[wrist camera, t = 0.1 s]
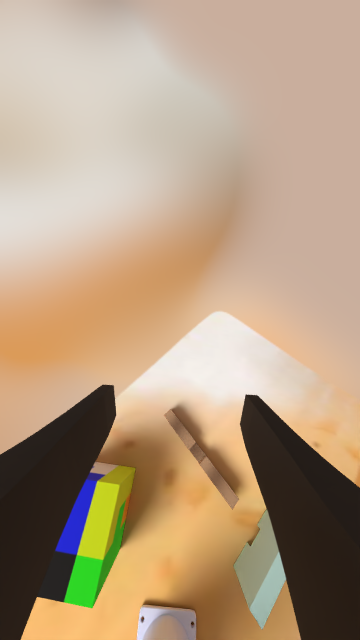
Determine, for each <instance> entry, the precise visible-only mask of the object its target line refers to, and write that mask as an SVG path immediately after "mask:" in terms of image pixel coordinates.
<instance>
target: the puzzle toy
mask: <svg viewBox="0 0 360 640" xmlns="http://www.w3.org/2000/svg"><path fill="white" fill-rule="evenodd" d="M135 469H136V468H133V467H126V466H120V465H113V464H107V463H100V462H95V463H94V465H93V467H92V469H91V471H90V473H89V475H88V477H87V479H86V481H85V483H84V485H83V487H82V489H81V491H80V493H79V495H78V498H77V500H76V502H75V504H74V507H73V509H72V511H71V514H70V516H69V518H68V521H67V523H66V526H65V528H64V530H63V533H62V535H61V537H60V540H59V542H58V545H57V547H56V550H55V552H54V555H53V557H52V560H51V562H50V565H49V567H48V570H47V572H46V575H45V577H44V580H43V582H42V585H41V587H40V590H39V593H38V595H37V597H41V598H46V599H50V600H55V601H60V602H65V603H70V604H74V605H79V606H84V607H89V608H93V606H94V604H95V602H96V599H97V597H98V595H99V593H100V591H101V589H102V587H103V584H104V582H105V580H106V578H107V576H108V574H109V572H110V569H111V567H112V565H113V563H114V561H115V559H116V557H117V554H118V552H119V550H120V547H121V542H122V536H123V531H124V526H125V521H126V516H127V510H128V505H129V500H130V495H131V490H132V485H133V479H134V474H135Z"/></svg>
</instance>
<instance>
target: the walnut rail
mask: <svg viewBox="0 0 360 640" xmlns="http://www.w3.org/2000/svg"><path fill="white" fill-rule="evenodd" d="M164 416H165V418H166V419H167V420H168V422H169V423H170V424H171V426H172V427H173V429H174V430H175V431H176V433H177V434H178V435H179V437H180V438H181V440H182V441H183V442H184V444H185V445H186V446H187V448H188V449H189V450H190V451H191V453H192V454H193V456H194V457H195V458H196V460H197V461H198V462H199V464H200V466H201V467H202V468H203V470H204V471H205V473H206V474H207V475H208V477H209V478H210V479H211V481H212V482H213V484H214V485H215V486H216V488H217V489H218V490H219V492H220V493H221V495H222V496H223V497H224V499H225V500H226V501H227V503H228V504H229V506H230V507H231V508H232V509H233V508H234V506H235V505H236V503H237V502H238V500H239V498H238V497H237V496H236V494H235V493H234V492H233V490H232V489H231V488H230V486H229V485H228V484H227V482H226V481H225V480H224V479H223V477H222V476H221V475H220V473H219V472H218V471H217V469H216V468H215V467H214V465H213V464H212V463H211V461H210V460H209V459H208V457H207V456H206V455H205V454H204V452H203V451H202V450H201V448H200V447H199V446H198V444H197V443H196V442H195V440H194V439H193V438H192V436H191V435H190V434H189V432H188V431H187V430H186V429H185V427H184V426H183V425H182V423H181V422H180V421H179V419H178V418H177V417H176V415H175V414H174V413H173V411H172V410H171V409H170V410H169V411H168V412H167V413H166V414H165V415H164Z"/></svg>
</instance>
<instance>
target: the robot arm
mask: <svg viewBox="0 0 360 640" xmlns="http://www.w3.org/2000/svg"><path fill="white" fill-rule="evenodd" d="M115 417H116V406H115V396H114V386H113V385H102V386H100V387H99V388H97V389H96V390H95V391H94V392H92V393H91V394H90V395H88V396H87V397H86V398H84V399H83V400H81V401H80V402H79V403H77V404H76V405H75V406H74V407H72V408H71V409H70V410H68V411H67V412H66V413H64V414H62V415H61V416H60V417H58V418H57V419H55V420H54V421H52V422H51V423H49V424H48V425H46V426H45V427H43V428H42V429H41V430H39V431H38V432H36V433H35V434H33V435H32V436H30V437H28V438H27V439H26V440H24V441H22V442H21V443H19V444H17V445H15V446H14V447H12V448H11V449H9V450H7V451H6V452H4V453H2V454H1V455H0V640H21V637H22V634H23V632H24V629H25V626H26V624H27V621H28V619H29V616H30V613H31V611H32V608H33V606H34V603H35V600H36V598H37V595H38V593H39V590H40V587H41V585H42V582H43V580H44V577H45V575H46V572H47V570H48V567H49V565H50V562H51V560H52V557H53V555H54V552H55V550H56V547H57V545H58V542H59V540H60V537H61V535H62V533H63V530H64V528H65V526H66V523H67V521H68V518H69V516H70V514H71V511H72V509H73V507H74V504H75V502H76V500H77V498H78V495H79V493H80V491H81V489H82V487H83V485H84V483H85V481H86V479H87V477H88V475H89V473H90V471H91V469H92V467H93V465H94V463H95V461H96V459H97V457H98V455H99V453H100V451H101V449H102V447H103V445H104V443H105V441H106V439H107V437H108V435H109V433H110V430H111V428H112V425H113V422H114V420H115ZM240 426H241V431H242V435H243V439H244V443H245V447H246V450H247V453H248V456H249V459H250V462H251V465H252V468H253V470H254V473H255V476H256V479H257V482H258V485H259V488H260V491H261V493H262V496H263V499H264V502H265V505H266V508H267V511H268V514H269V518H270V521H271V524H272V528H273V532H274V535H275V539H276V543H277V546H278V550H279V554H280V557H281V561H282V565H283V569H284V573H285V577H286V581H287V584H288V588H289V592H290V596H291V600H292V604H293V608H294V612H295V616H296V620H297V624H298V628H299V632H300V637H301V640H360V488H359V487H358V486H357V485H356V484H354V483H353V482H352V481H351V480H349V479H348V478H347V477H346V476H344V475H343V474H342V473H341V472H340V471H338V470H337V469H336V468H335V467H333V466H332V465H331V464H330V463H329V462H328V461H326V460H325V459H324V458H323V457H322V456H321V455H319V454H318V453H317V452H316V451H315V450H314V449H313V448H312V447H310V446H309V445H308V444H307V443H306V442H305V441H304V440H303V439H302V438H301V437H300V436H298V435H297V434H296V433H295V432H294V431H293V430H292V429H291V428H290V427H289V426H288V425H287V424H286V423H285V422H284V421H283V420H282V419H281V418H280V417H279V416H278V415H277V414H276V413H275V412H274V411H273V410H272V409H271V408H270V407H269V406H268V405H267V404H266V403H265V402H264V401H263V400H262V399H261V398H260V397H259V396H257V395H246V396H245V401H244V406H243V412H242V417H241V422H240ZM142 616H143V617H144V620H142V619H141V617H142ZM192 621H193V622H194V625H191V622H192ZM137 640H196V613H195V611H194V610H191V609H181V608H171V607H162V606H152V605H142V606H141V608H140V614H139V623H138V633H137Z"/></svg>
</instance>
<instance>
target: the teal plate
mask: <svg viewBox="0 0 360 640" xmlns="http://www.w3.org/2000/svg"><path fill="white" fill-rule="evenodd" d="M257 525H258V527H259V528H260V531H259V532H258V534H257V536H256V538H255V539H254V541H253V543H252V545H251V546H250V545H249V544H248V542H247V543H246V545H245V547H244V548H243V550H242V552H241V553H240V555H239V557H238V559H237V560H236V562H235V564H234V565H233V566H234V569H235V572H236V574H237V577H238V580H239V583H240V585H241V588H242V591H243V593H244V596H245V599H246V602H247V604H248V607H249V610H250V611H251V613H252V614H253V616H254V618H255V619H256V621H257V622H258V624H259V625H260V627H261V629H263V627H264V625H265V623H266V621H267V618H268V616H269V614H270V612H271V610H272V608H273V606H274V604H275V601H276V599H277V597H278V595H279V593H280V591H281V589H282V586H283V584H284V582H285V580H286V577H285V573H284V569H283V565H282V561H281V557H280V554H279V550H278V546H277V543H276V539H275V535H274V532H273V528H272V524H271V521H270V518H269V514H268V511H267V509H266V511H265V512H264V514H263V516H262V518H261V519H260V521H259V523H258V524H257Z"/></svg>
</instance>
